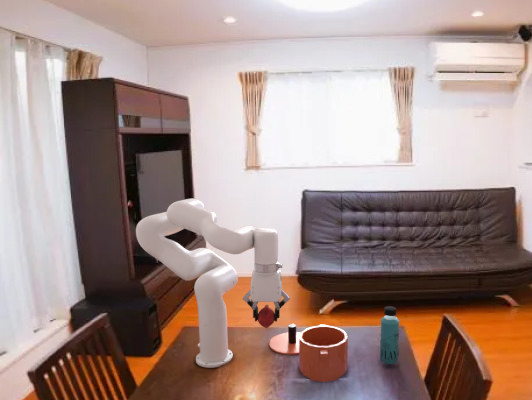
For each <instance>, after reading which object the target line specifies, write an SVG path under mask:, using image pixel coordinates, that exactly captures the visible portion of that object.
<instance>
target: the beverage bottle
mask: <svg viewBox="0 0 532 400" xmlns="http://www.w3.org/2000/svg"><path fill="white" fill-rule="evenodd" d="M383 314H384V316H383V317H381V319H380V340H379V343H380V344H379V359H380V361H381V362H382V363H384V364H387V365H394V364H396V363H398V361H399V358H400V357H399V355H400V352H399V348H400V347H399V346H400V344H399V343H400V341H399V340H400V319H399V318H398V317H397V308H396V307H395V306H391V305H389V306H388V305H387V306H385V307H384V310H383Z"/></svg>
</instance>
